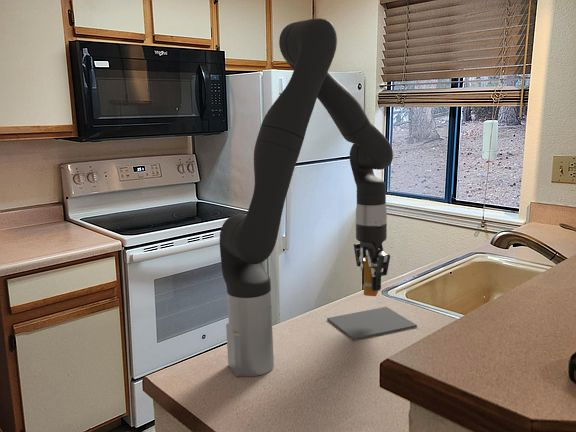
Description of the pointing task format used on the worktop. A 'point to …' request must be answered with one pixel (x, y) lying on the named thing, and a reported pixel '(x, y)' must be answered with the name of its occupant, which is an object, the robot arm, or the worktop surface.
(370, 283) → the supplement box
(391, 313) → the mat
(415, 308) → the worktop surface
